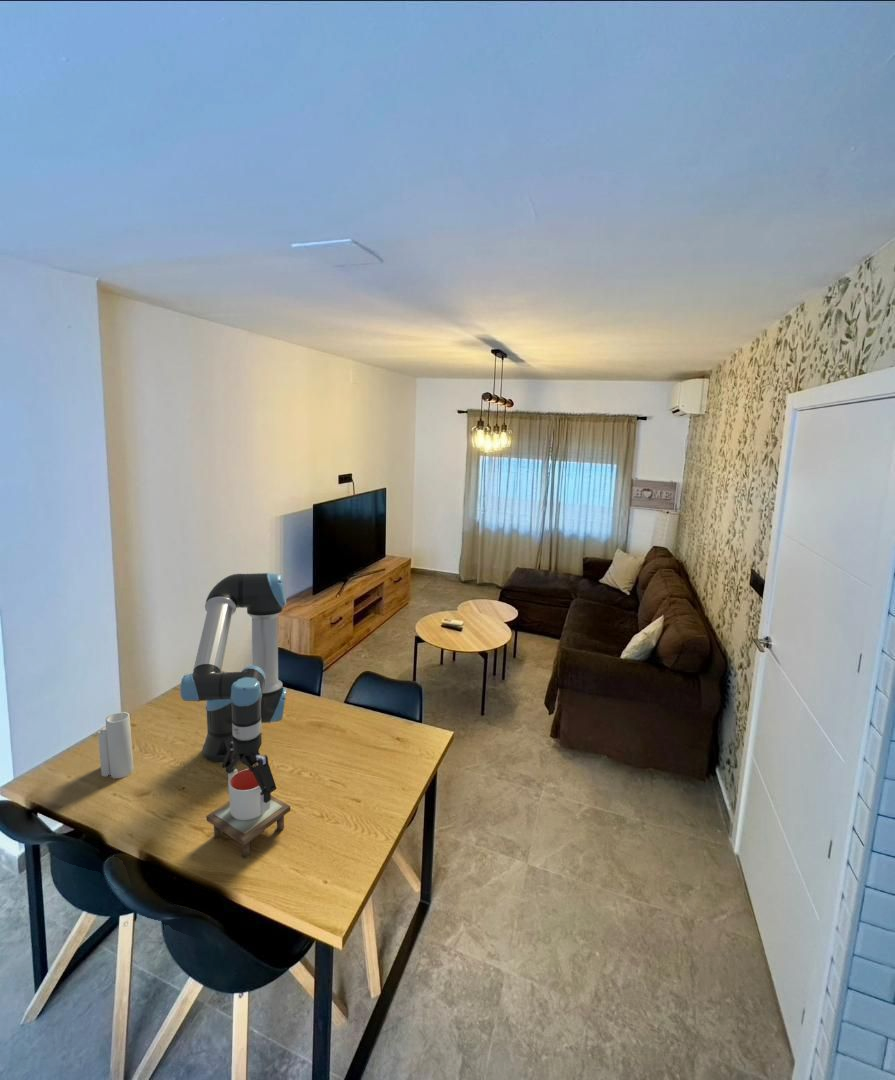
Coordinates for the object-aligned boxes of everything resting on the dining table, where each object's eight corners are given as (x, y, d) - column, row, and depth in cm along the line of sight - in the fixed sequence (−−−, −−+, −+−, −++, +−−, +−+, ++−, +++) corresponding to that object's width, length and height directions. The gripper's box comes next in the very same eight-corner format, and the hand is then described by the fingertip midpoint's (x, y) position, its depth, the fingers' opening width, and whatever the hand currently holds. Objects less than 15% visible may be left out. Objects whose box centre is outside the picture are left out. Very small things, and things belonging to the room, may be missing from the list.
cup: (271, 798, 156) (270, 768, 154) (262, 822, 146) (261, 790, 144) (236, 798, 155) (235, 768, 153) (225, 823, 145) (224, 791, 143)
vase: (138, 768, 177) (134, 714, 173) (119, 781, 170) (114, 725, 166) (113, 760, 180) (108, 707, 176) (93, 772, 173) (87, 717, 169)
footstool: (207, 837, 149) (206, 815, 148) (254, 805, 163) (253, 784, 161) (244, 863, 141) (243, 839, 140) (290, 827, 155) (290, 805, 153)
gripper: (206, 725, 149) (209, 790, 153) (266, 756, 136) (268, 827, 141) (229, 713, 155) (231, 777, 160) (289, 742, 143) (289, 810, 147)
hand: (248, 800), depth 150 cm, fingers open, 13 cm apart
